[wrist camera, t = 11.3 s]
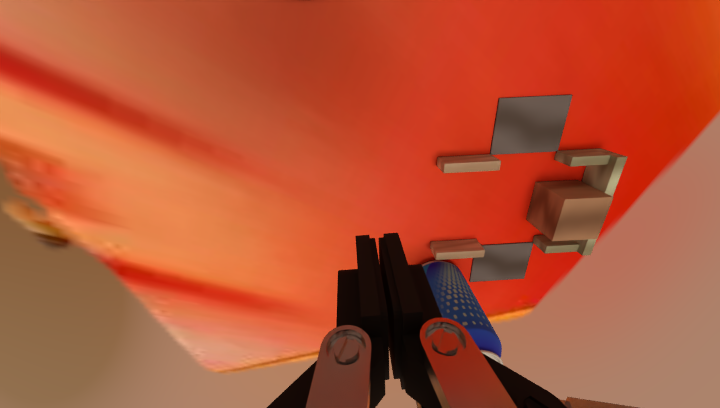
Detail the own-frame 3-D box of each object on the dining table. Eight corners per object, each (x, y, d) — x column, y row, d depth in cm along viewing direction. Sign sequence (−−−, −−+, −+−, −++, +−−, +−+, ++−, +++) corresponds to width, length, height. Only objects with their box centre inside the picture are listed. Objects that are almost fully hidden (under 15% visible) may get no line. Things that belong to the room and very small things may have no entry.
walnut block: (535, 181, 40) (565, 199, 34) (577, 179, 40) (613, 197, 34) (525, 219, 42) (552, 241, 37) (565, 217, 42) (597, 238, 37)
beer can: (399, 289, 47) (423, 387, 32) (422, 249, 44) (460, 338, 29) (443, 302, 49) (485, 400, 34) (469, 264, 45) (527, 356, 31)
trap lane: (441, 100, 34) (453, 104, 31) (618, 92, 35) (650, 95, 31) (427, 283, 47) (434, 301, 43) (558, 275, 47) (576, 292, 44)
